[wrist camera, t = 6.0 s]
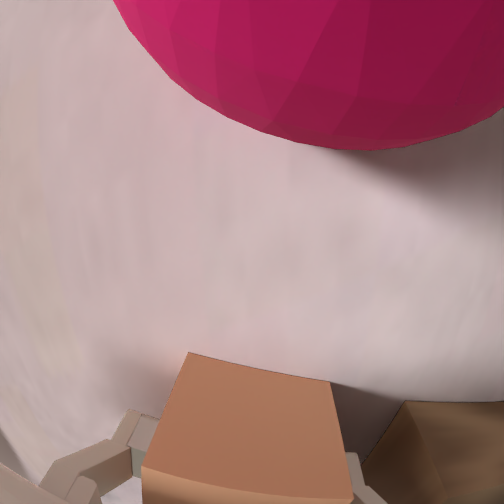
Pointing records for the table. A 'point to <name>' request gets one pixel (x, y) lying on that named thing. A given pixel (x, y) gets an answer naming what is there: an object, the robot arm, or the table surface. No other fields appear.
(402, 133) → the pepper mill
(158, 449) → the terracotta cube
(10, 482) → the robot arm
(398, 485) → the walnut stand
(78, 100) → the table surface
